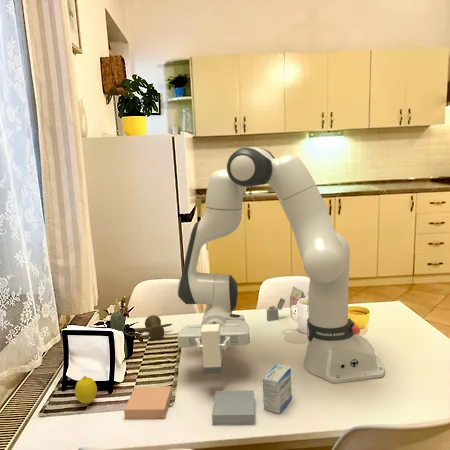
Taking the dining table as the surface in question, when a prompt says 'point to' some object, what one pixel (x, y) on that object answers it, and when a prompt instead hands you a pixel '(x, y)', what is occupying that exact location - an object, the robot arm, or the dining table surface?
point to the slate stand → (233, 407)
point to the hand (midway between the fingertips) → (211, 348)
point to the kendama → (153, 327)
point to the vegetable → (118, 321)
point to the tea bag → (296, 296)
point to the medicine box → (277, 388)
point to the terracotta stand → (148, 403)
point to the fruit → (85, 390)
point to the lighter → (274, 311)
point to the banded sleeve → (211, 349)
